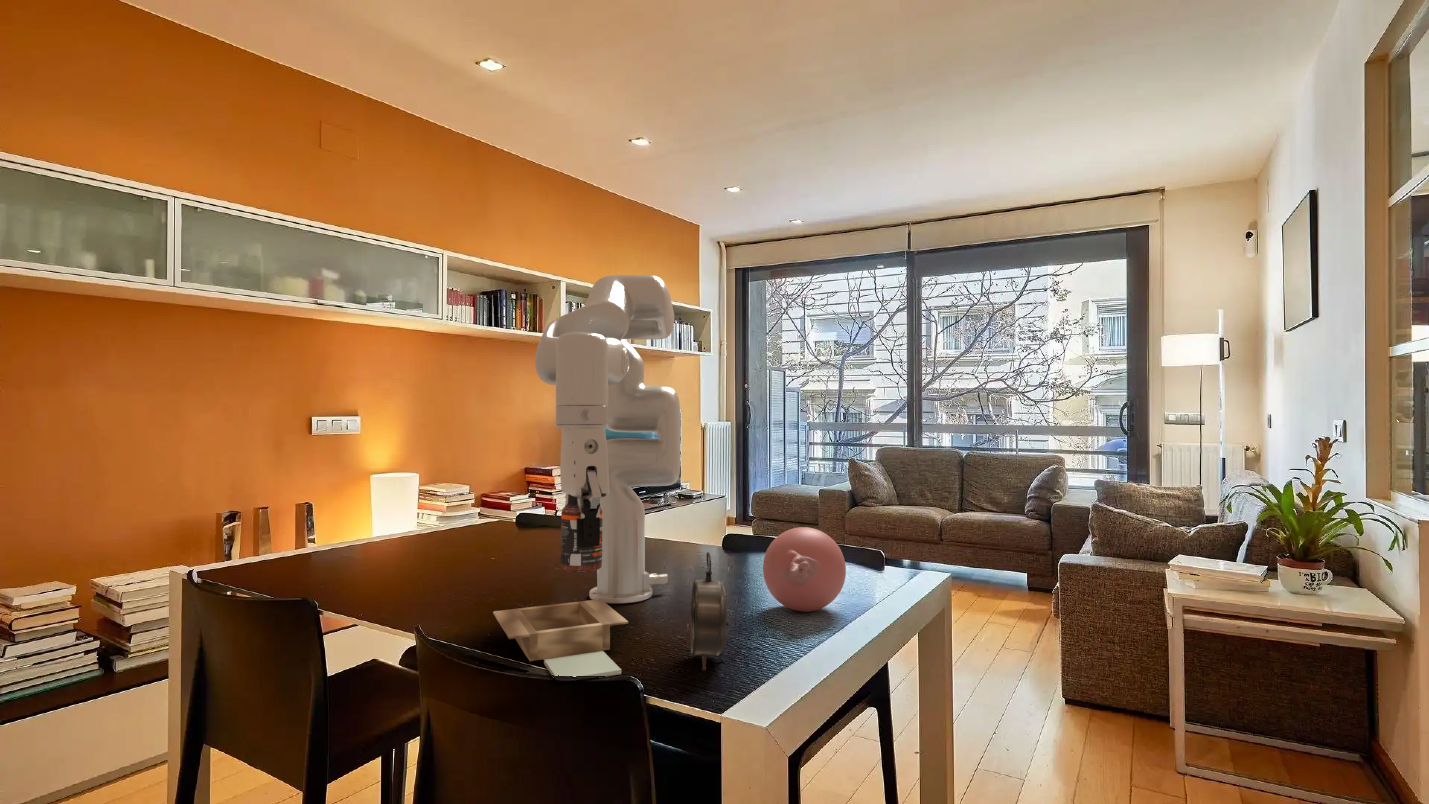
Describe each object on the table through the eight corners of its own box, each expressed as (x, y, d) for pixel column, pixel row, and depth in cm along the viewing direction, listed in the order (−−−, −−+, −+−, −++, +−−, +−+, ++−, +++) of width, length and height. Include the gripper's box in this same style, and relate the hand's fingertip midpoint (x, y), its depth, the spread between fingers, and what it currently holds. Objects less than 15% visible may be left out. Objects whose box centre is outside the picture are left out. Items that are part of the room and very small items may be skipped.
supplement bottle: (582, 575, 102) (583, 494, 102) (551, 570, 105) (551, 492, 106) (610, 567, 107) (610, 490, 107) (580, 563, 110) (580, 488, 111)
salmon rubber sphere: (745, 624, 128) (745, 536, 128) (774, 596, 147) (774, 519, 147) (833, 633, 123) (832, 541, 123) (852, 603, 142) (851, 523, 142)
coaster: (602, 654, 112) (602, 650, 112) (621, 673, 104) (621, 669, 104) (543, 663, 108) (543, 659, 108) (558, 684, 100) (558, 679, 100)
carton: (600, 621, 130) (600, 599, 130) (628, 646, 116) (628, 621, 116) (493, 635, 122) (493, 611, 122) (509, 664, 108) (509, 637, 108)
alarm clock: (689, 649, 115) (689, 545, 115) (723, 648, 115) (723, 545, 115) (693, 674, 104) (692, 559, 104) (731, 673, 104) (730, 559, 104)
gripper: (625, 418, 100) (625, 550, 100) (590, 417, 116) (590, 531, 116) (571, 419, 97) (571, 555, 97) (543, 417, 113) (543, 535, 113)
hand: (581, 541), depth 106 cm, fingers closed on supplement bottle, 6 cm apart
